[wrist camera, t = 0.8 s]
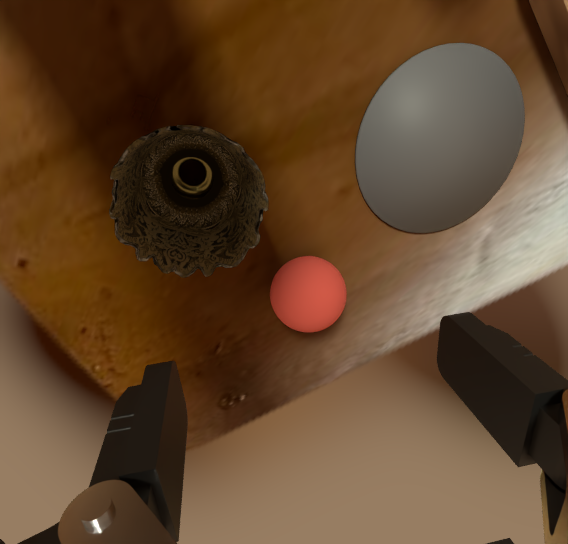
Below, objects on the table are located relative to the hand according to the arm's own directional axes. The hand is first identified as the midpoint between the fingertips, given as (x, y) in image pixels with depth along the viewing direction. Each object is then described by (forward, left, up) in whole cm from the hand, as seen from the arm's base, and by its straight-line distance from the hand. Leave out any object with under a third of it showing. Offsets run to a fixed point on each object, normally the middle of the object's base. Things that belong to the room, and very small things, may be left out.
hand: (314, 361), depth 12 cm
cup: (-4, 0, -18) cm, 18 cm away
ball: (+6, -5, -15) cm, 17 cm away
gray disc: (+12, +8, -18) cm, 23 cm away
